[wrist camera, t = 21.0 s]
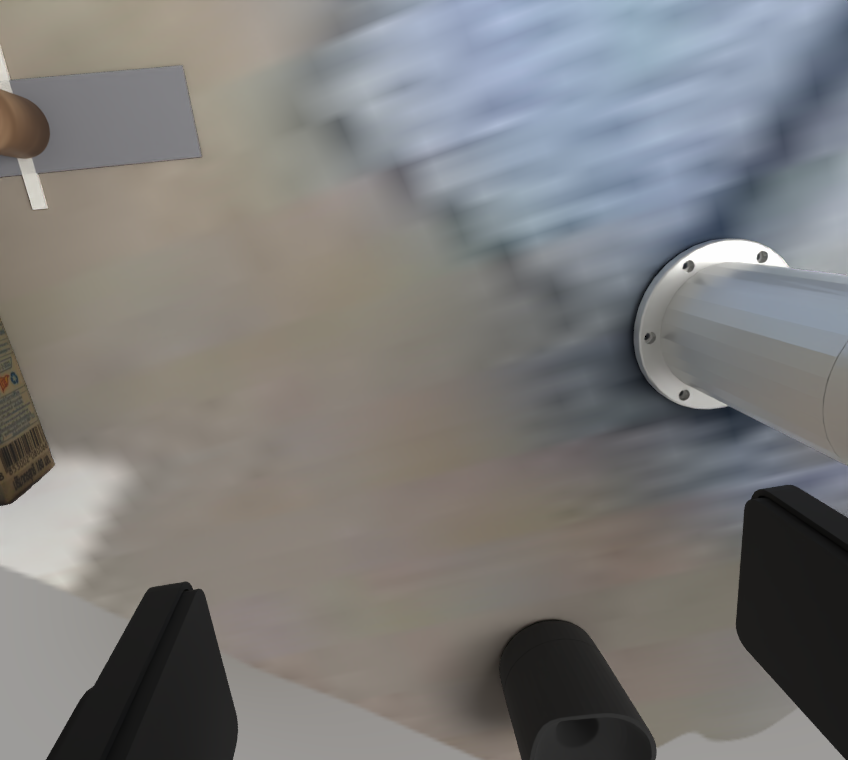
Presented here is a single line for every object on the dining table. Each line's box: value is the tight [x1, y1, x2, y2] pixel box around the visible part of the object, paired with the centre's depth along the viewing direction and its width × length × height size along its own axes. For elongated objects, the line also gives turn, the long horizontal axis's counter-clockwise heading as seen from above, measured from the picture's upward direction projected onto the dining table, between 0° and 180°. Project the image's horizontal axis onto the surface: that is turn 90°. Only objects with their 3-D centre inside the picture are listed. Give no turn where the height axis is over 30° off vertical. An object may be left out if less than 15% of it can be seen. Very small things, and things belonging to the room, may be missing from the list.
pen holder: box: [499, 621, 656, 760], centre depth 44 cm, size 9×9×10 cm
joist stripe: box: [0, 45, 202, 210], centre depth 33 cm, size 16×9×1 cm, turn 96°
